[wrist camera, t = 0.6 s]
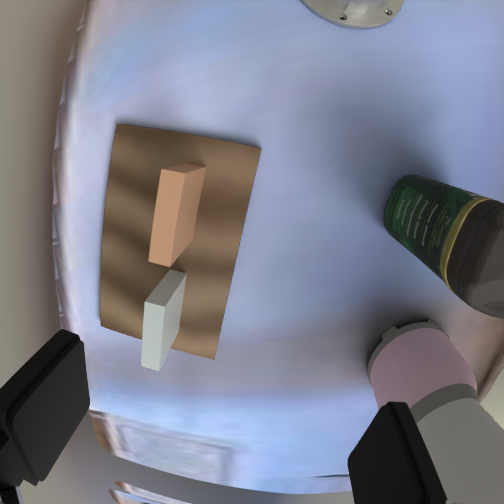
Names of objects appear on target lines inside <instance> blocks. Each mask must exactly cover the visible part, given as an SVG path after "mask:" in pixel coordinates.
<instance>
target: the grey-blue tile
mask: <svg viewBox="0 0 504 504" xmlns="http://www.w3.org/2000/svg"><path fill="white" fill-rule="evenodd" d="M186 276H187V273H183V272H179V271H175V270H171V269H170V270H169V271H168V273H167V274H166V275H165V276H164V278H163V279H162V280H161V281H160V283H159V284H158V285H157V286H156V288H155V289H154V290H153V291H152V293H151V294H150V295H149V296H148V298H147V299H146V300H145V304H144V318H143V335H142V358H141V366H144V367H147V368H150V369H153V370H157V371H159V370H160V368H161V366H162V364H163V362H164V360H165V358H166V356H167V354H168V352H169V350H170V348H171V346H172V344H173V342H174V340H175V338H176V336H177V334H178V332H179V325H180V317H181V310H182V303H183V296H184V289H185V283H186Z"/></svg>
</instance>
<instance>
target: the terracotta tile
mask: <svg viewBox="0 0 504 504" xmlns="http://www.w3.org/2000/svg"><path fill="white" fill-rule="evenodd" d="M205 171H206V167H205V166H200V165H195V164H190V163H186V164H181V165H177V166H172V167H168V168H163V169H161V175H160V181H159V187H158V193H157V199H156V206H155V213H154V220H153V227H152V235H151V243H150V252H149V262H152V263H156V264H160V265H164V266H168V267H170V266H171V265H172V264H173V263H174V262H175V260H176V259H177V258H178V257H179V256H180V254H181V253H182V252H183V251H184V250H185V248H186V247H187V246H188V245H189V244H190V242H191V241H192V240H193V234H194V228H195V223H196V217H197V212H198V206H199V201H200V196H201V191H202V186H203V181H204V176H205Z"/></svg>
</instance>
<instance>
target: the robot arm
mask: <svg viewBox="0 0 504 504" xmlns="http://www.w3.org/2000/svg"><path fill="white" fill-rule="evenodd" d="M302 1H303V3H304V4H305V5H306V6H307V7H308V8H309V9H310V10H312V11H313V12H314V13H316V14H317V15H319V16H320V17H322V18H323V19H325V20H328V21H330V22H332V23H334V24H337V25H340V26H343V27H348V28H354V29H370V28H376V27H379V26H382V25H384V24H386V23H388V22H390V21H391V20H392V19H393V18H394V17H395V16H396V15H397V14H398V13H399V11H400V10H401V7H402V5H403V0H302ZM387 14H388V15H387ZM340 18H342V19H343V20H341V19H340ZM89 406H90V396H89V389H88V381H87V372H86V363H85V352H84V343H83V341H80V337H79V335H77V334H75V333H72V332H70V331H67V330H64V329H61V330H60V331H59V332H58V333H56V334H55V335H54V336H53V337H52V338H51V339H50V340H49V341H48V342H47V343H46V344H45V345H44V346H43V347H41V349H40V350H38V351H37V353H35V354H34V355H33V357H31V358H30V359H29V360H28V361H27V362H26V363H25V364H24V365H23V366H22V367H21V368H20V369H19V370H18V371H17V372H16V373H15V374H14V375H13V376H12V377H11V378H10V379H9V380H8V381H7V382H6V383H5V385H4V386H3V387H2V388H1V389H0V504H24V503H23V500H22V495H21V492H20V487H19V486H20V484H21V483H22V481H23V479H24V480H26V481H27V482H29V483H31V484H33V485H34V486H36V485H37V483H38V482H39V480H40V481H43V480H45V479H46V477H47V475H48V474H49V472H50V470H51V468H52V467H53V465H54V464H55V462H56V460H57V459H58V457H59V455H60V454H61V452H62V451H63V449H64V447H65V446H66V444H67V443H68V441H69V439H70V438H71V436H72V434H73V433H74V431H75V430H76V428H77V426H78V425H79V423H80V422H81V420H82V419H83V417H84V416H85V414H86V412H87V411H88V409H89ZM348 469H349V475H350V480H351V486H352V491H353V497H354V502H355V504H446V501H447V500H448V499H447V497H446V494H445V491H444V489H443V486H442V484H441V481H440V479H439V476H438V474H437V471H436V469H435V466H434V464H433V461H432V459H431V456H430V454H429V452H428V449H427V447H426V445H425V442H424V440H423V438H422V435H421V433H420V431H419V429H418V426H417V424H416V422H415V420H414V417H413V415H412V413H411V411H410V409H409V407H408V405H407V403H405V402H394V401H389V402H387V403H386V405H383V406H381V408H380V409H379V411H378V413H377V414H376V416H375V417H374V419H373V421H372V422H371V424H370V425H369V427H368V429H367V430H366V432H365V433H364V435H363V436H362V438H361V439H360V441H359V442H358V444H357V445H356V447H355V448H354V450H353V451H352V452H351V454H350V455H349V458H348ZM451 504H465V503H462V502H454V503H451Z"/></svg>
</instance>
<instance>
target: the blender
mask: <svg viewBox="0 0 504 504" xmlns="http://www.w3.org/2000/svg"><path fill="white" fill-rule="evenodd" d="M382 339H383V341H382V342H381V343H380V344H379V345H378V346H377V348H376V349H375V350H374V352H373V354H372V356H371V358H370V360H369V364H368V378H369V381H370V384H371V386H372V388H373V391H374V395H375V398H376V401H377V404H378V408H379V409H380V408H381V406H383V405H386V403H387V402H389V401H394V402H405V403H407V405H408V407H409V409H410V411H411V413H412V415H413V417H414V420H415V422H416V424H417V426H418V429H419V431H420V433H421V435H422V438H423V440H424V442H425V445H426V447H427V449H428V452H429V454H430V456H431V459H432V461H433V464H434V466H435V469H436V471H437V474H438V476H439V479H440V481H441V484H442V486H443V489H444V491H445V494H446V497H447V499H448V500H447V501H446V504H451V503H454V502H462V503H465V504H504V430H503V429H502V427H501V426H500V425H499V424H498V423H497V422H496V421H495V420H494V419H493V417H492V416H491V415H490V414H489V413H488V412H486V411H485V409H484V408H483V407H482V406H481V405H480V403H479V402H478V398H477V385H476V381H475V377H474V374H473V372H472V370H471V369H470V367H469V365H468V364H467V363H466V361H465V360H464V358H463V357H462V356H461V354H460V353H459V352H458V350H457V349H456V348H455V346H454V345H453V344H452V343H451V341H450V339H449V337H448V336H447V334H446V333H445V332H444V331H443V330H442V329H441V328H440V327H439V326H438V325H437V324H436V323H435V322H433V321H431V320H427V321H426V322H419V323H413V324H409V325H406V326H404V327H402V328H400V329H397V328H396V327H395V326H393V327H391V328H390V329H388V330H387V331H386V332H384V333H383V334H382Z"/></svg>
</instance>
